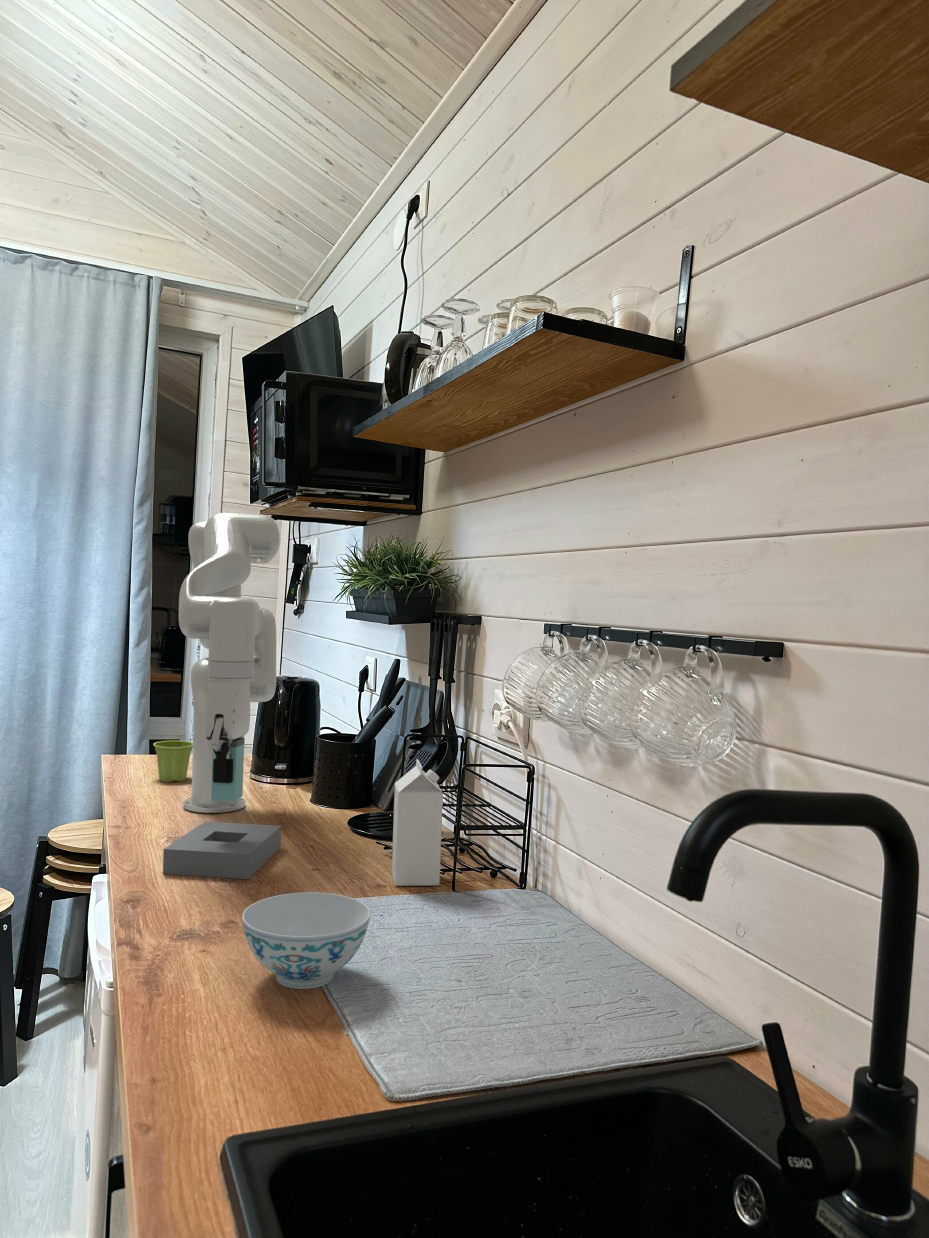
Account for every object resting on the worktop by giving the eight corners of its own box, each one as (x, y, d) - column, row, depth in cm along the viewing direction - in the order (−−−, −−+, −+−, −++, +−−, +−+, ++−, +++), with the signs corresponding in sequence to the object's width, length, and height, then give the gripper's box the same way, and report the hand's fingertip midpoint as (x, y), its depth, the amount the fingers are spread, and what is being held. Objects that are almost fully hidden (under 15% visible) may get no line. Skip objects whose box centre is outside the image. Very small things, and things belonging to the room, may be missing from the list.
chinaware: (287, 944, 116) (289, 885, 116) (389, 966, 110) (392, 904, 110) (213, 988, 102) (215, 922, 102) (326, 1016, 97) (328, 946, 96)
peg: (219, 795, 153) (221, 736, 153) (242, 796, 153) (244, 738, 152) (210, 800, 149) (212, 740, 149) (234, 801, 148) (236, 741, 148)
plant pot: (200, 777, 217) (201, 742, 217) (180, 785, 208) (181, 748, 208) (166, 774, 219) (167, 739, 219) (144, 781, 210) (145, 745, 210)
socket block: (204, 843, 161) (205, 821, 161) (280, 848, 160) (281, 825, 160) (162, 873, 143) (163, 848, 143) (248, 879, 142) (249, 854, 142)
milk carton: (394, 887, 141) (399, 767, 140) (391, 873, 148) (395, 758, 147) (439, 886, 142) (444, 767, 141) (434, 872, 149) (438, 759, 148)
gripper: (226, 667, 159) (223, 770, 159) (190, 674, 142) (186, 788, 143) (267, 669, 158) (264, 772, 159) (236, 676, 142) (232, 791, 142)
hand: (227, 778), depth 151 cm, fingers closed on peg, 4 cm apart
